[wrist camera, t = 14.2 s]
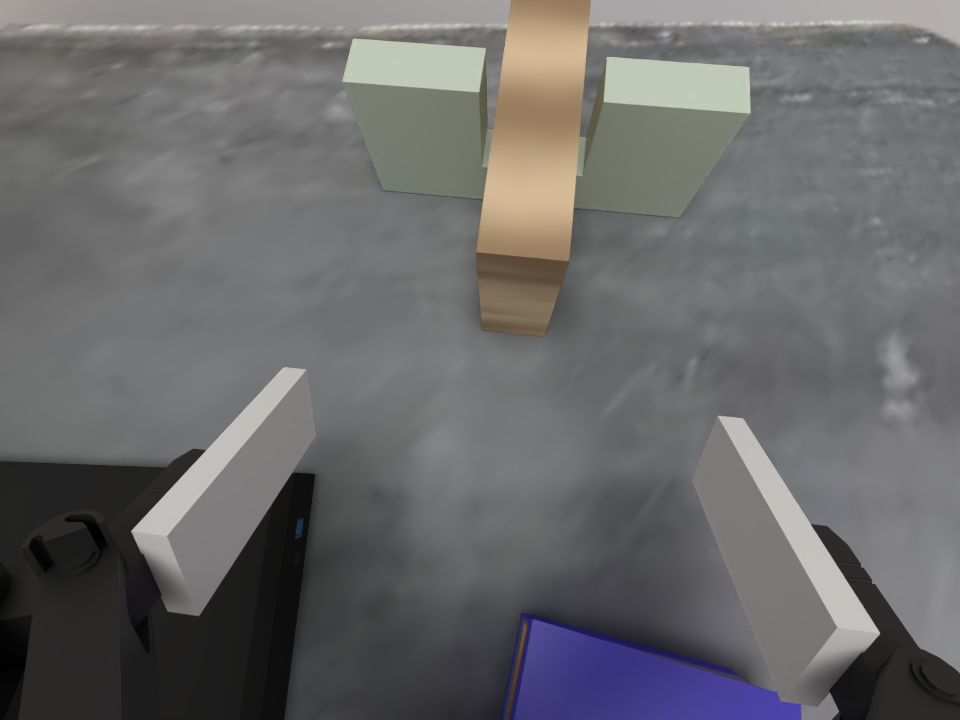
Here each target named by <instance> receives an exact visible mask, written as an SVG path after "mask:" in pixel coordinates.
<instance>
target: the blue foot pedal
mask: <svg viewBox="0 0 960 720" xmlns="http://www.w3.org/2000/svg"><path fill="white" fill-rule="evenodd" d="M501 720H801V706H800V704H795V703H788V702H782V701H780V699H779V696H778V694H777V692H773V691H770V690H767V689H763V688H760V687H757V686H753V685H751V684H750V683H749V682H747V681H746V680H745V679H743V678H742V677H741V676H739V675H738V674H737V673H736V672H734V671H733V670H732V669H728V668H725V667H721V666H717V665H713V664H710V663H706V662H702V661H699V660H695V659H691V658H687V657H684V656H680V655H676V654H673V653H669V652H665V651H662V650H658V649H654V648H650V647H647V646H643V645H639V644H636V643H632V642H628V641H624V640H621V639H617V638H613V637H610V636H606V635H602V634H598V633H595V632H591V631H587V630H584V629H580V628H576V627H572V626H569V625H565V624H561V623H558V622H554V621H550V620H546V619H543V618H539V617H535V616H532V615H528V614H524V613H522V614H521V619H520V624H519V629H518V634H517V639H516V644H515V650H514V655H513V660H512V665H511V670H510V675H509V680H508V686H507V691H506V696H505V701H504V706H503V711H502V717H501Z"/></svg>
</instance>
